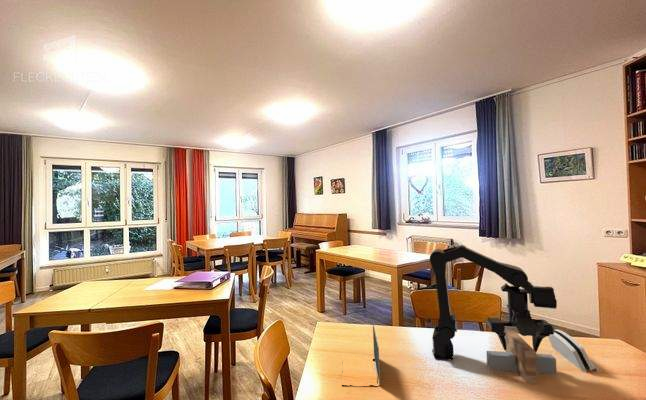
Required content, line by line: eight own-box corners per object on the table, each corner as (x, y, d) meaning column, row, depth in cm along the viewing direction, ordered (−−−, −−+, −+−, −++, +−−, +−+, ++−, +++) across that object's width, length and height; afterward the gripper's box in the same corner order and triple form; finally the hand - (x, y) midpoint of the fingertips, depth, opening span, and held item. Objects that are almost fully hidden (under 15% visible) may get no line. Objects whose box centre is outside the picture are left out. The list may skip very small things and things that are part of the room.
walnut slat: (506, 356, 108) (504, 329, 108) (515, 357, 108) (513, 330, 108) (526, 383, 93) (525, 351, 93) (537, 384, 92) (536, 352, 92)
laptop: (342, 358, 113) (340, 323, 113) (375, 358, 112) (373, 323, 112) (341, 387, 95) (339, 347, 95) (380, 388, 94) (379, 347, 94)
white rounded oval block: (600, 372, 97) (587, 343, 97) (585, 376, 97) (572, 347, 98) (566, 347, 113) (555, 322, 114) (553, 351, 114) (542, 326, 114)
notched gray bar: (490, 369, 101) (489, 355, 101) (487, 364, 104) (486, 350, 104) (556, 374, 97) (555, 359, 97) (551, 369, 100) (550, 354, 100)
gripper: (496, 312, 94) (498, 361, 94) (563, 314, 91) (565, 365, 90) (484, 301, 105) (486, 344, 105) (543, 302, 101) (545, 348, 101)
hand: (519, 350), depth 100 cm, fingers open, 9 cm apart
